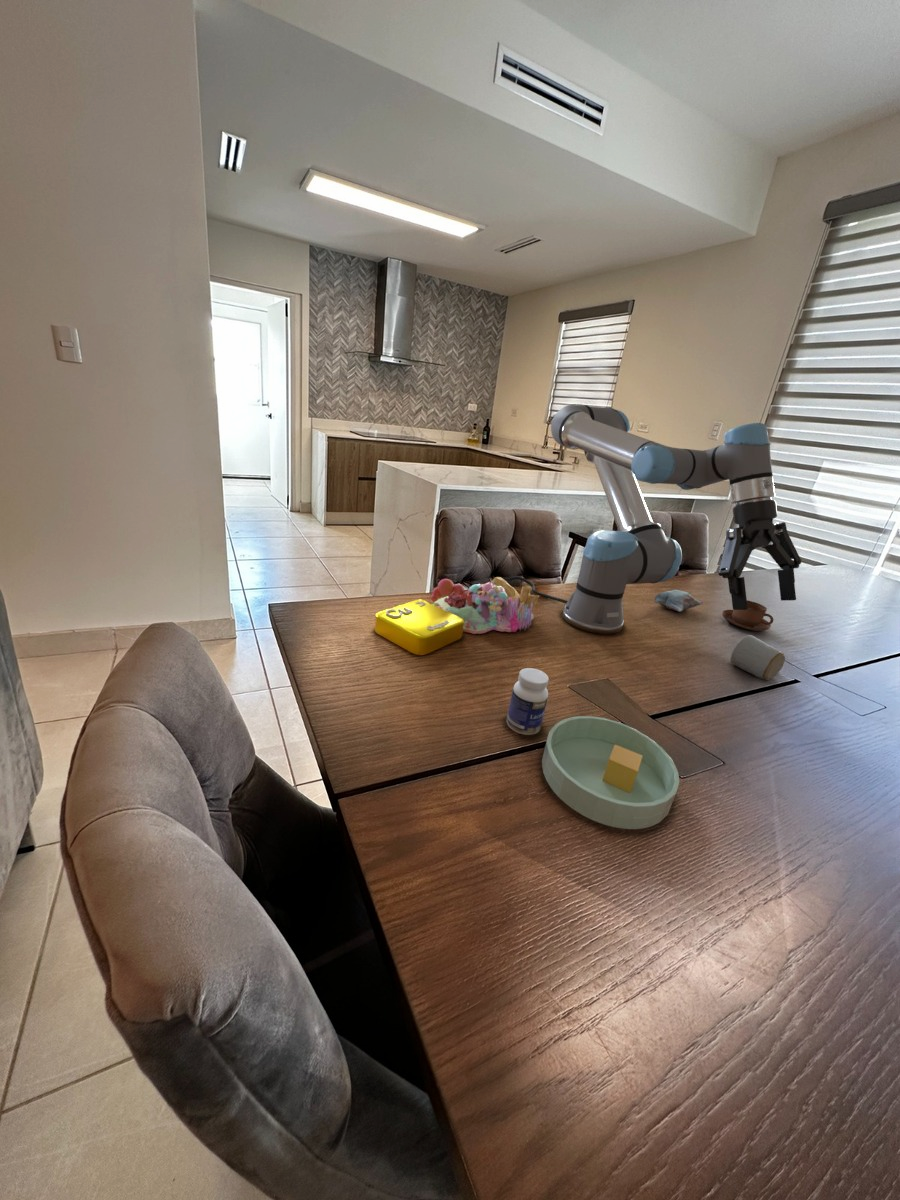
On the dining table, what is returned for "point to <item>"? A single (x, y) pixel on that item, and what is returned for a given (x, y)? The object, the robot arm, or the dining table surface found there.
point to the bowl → (580, 768)
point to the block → (622, 768)
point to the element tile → (419, 626)
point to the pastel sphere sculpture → (487, 605)
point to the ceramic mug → (757, 658)
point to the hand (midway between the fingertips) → (764, 604)
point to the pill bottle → (528, 701)
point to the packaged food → (676, 600)
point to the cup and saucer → (749, 617)
